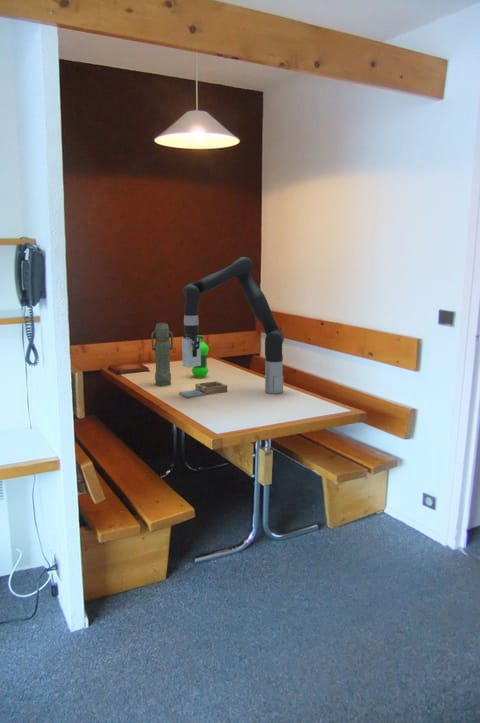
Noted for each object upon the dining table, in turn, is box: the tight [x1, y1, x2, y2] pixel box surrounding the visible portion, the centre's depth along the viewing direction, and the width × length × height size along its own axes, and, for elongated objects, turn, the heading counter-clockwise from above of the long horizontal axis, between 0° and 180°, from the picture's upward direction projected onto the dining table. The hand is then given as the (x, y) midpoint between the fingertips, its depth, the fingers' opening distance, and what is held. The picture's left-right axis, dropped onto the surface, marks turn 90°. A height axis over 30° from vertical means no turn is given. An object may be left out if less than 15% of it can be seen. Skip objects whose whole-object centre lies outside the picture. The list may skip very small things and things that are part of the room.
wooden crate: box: [195, 380, 228, 396], centre depth 312 cm, size 11×13×4 cm
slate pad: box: [178, 389, 206, 399], centre depth 304 cm, size 10×10×1 cm
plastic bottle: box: [191, 334, 210, 379], centre depth 343 cm, size 10×10×25 cm
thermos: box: [151, 322, 174, 387], centre depth 323 cm, size 9×12×35 cm
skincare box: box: [181, 338, 201, 369], centre depth 300 cm, size 8×6×15 cm
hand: (191, 355), depth 300 cm, fingers closed on skincare box, 6 cm apart
